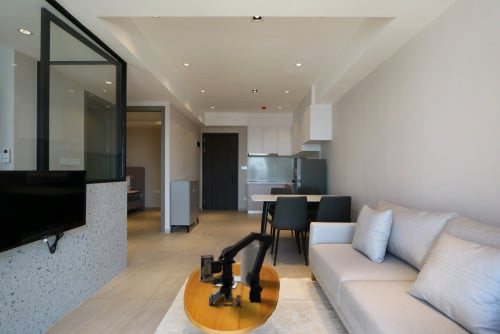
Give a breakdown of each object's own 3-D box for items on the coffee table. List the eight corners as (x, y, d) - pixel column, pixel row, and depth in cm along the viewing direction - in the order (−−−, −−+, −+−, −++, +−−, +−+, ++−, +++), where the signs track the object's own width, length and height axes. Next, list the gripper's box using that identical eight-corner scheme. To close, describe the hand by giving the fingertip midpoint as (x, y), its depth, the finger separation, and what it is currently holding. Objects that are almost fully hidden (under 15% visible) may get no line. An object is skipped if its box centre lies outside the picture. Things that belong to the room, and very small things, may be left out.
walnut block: (232, 297, 165) (232, 290, 165) (231, 301, 161) (231, 293, 161) (224, 297, 165) (225, 290, 165) (224, 301, 161) (224, 293, 161)
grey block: (214, 302, 158) (214, 294, 158) (211, 301, 158) (212, 293, 158) (225, 293, 168) (225, 286, 168) (223, 293, 169) (223, 285, 169)
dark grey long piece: (208, 307, 154) (208, 297, 154) (209, 303, 157) (209, 294, 157) (240, 307, 153) (240, 297, 154) (240, 304, 157) (240, 294, 157)
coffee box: (200, 282, 187) (200, 258, 187) (199, 278, 193) (199, 255, 193) (213, 280, 190) (214, 257, 190) (212, 277, 196) (212, 254, 196)
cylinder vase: (259, 279, 193) (259, 243, 193) (258, 286, 181) (258, 248, 181) (241, 278, 194) (242, 242, 195) (239, 285, 182) (239, 247, 182)
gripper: (215, 265, 166) (215, 291, 166) (210, 277, 147) (210, 307, 147) (234, 265, 166) (233, 291, 166) (231, 278, 147) (231, 307, 147)
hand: (227, 299), depth 156 cm, fingers closed
